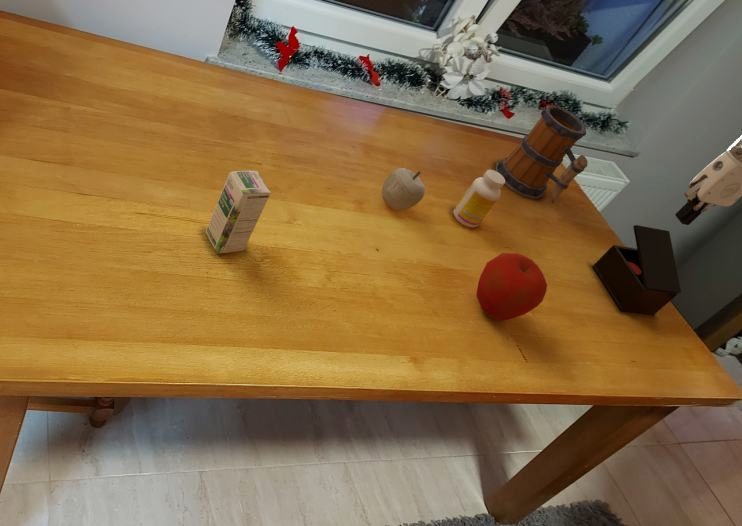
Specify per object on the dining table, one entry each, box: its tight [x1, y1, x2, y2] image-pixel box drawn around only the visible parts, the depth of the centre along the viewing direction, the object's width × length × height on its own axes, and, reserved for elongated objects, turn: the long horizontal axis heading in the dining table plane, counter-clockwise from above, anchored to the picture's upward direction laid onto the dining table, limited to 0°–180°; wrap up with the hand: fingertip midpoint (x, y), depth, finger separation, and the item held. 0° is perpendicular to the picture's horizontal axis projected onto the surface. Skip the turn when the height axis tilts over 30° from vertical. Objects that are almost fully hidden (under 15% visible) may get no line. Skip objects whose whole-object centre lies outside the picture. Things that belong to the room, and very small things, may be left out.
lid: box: [632, 224, 682, 294], centre depth 153 cm, size 15×11×1 cm
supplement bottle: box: [453, 169, 505, 228], centre depth 153 cm, size 7×7×13 cm
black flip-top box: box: [591, 244, 679, 316], centre depth 158 cm, size 14×11×8 cm
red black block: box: [628, 262, 641, 277], centre depth 159 cm, size 4×4×5 cm
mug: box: [494, 104, 588, 204], centre depth 172 cm, size 19×14×20 cm
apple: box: [476, 252, 548, 322], centre depth 132 cm, size 12×12×14 cm
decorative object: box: [381, 167, 426, 211], centre depth 147 cm, size 9×9×10 cm
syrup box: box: [205, 170, 272, 255], centre depth 118 cm, size 6×6×14 cm
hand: (681, 220), depth 148 cm, fingers closed
